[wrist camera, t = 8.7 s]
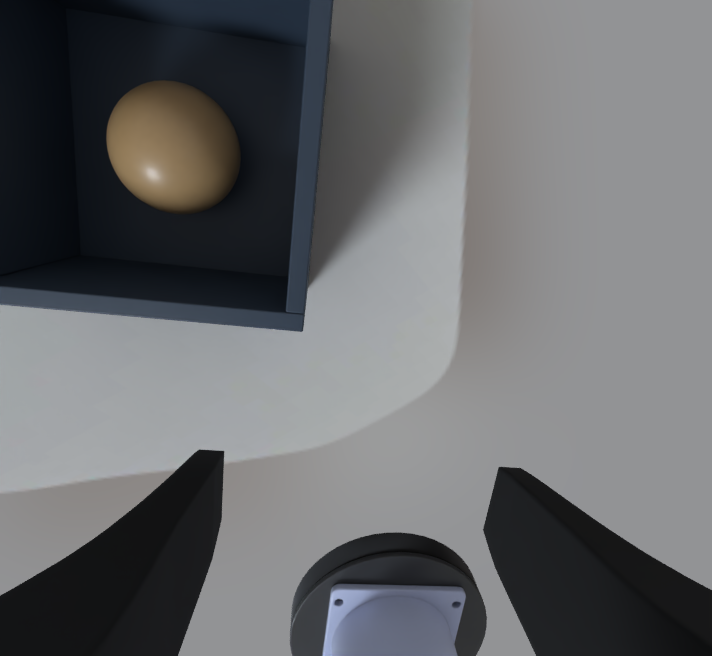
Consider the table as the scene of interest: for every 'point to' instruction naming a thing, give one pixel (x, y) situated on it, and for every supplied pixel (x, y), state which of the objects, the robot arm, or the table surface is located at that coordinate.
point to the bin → (110, 196)
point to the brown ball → (173, 147)
